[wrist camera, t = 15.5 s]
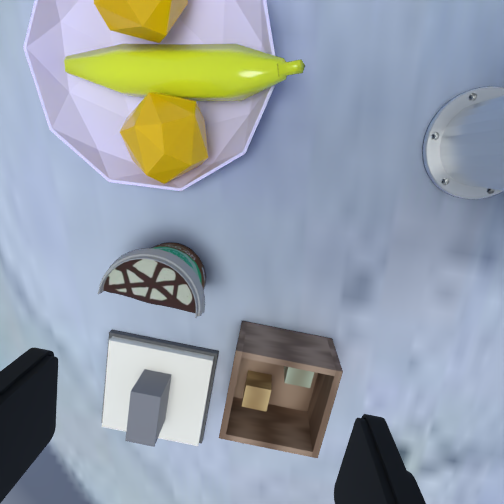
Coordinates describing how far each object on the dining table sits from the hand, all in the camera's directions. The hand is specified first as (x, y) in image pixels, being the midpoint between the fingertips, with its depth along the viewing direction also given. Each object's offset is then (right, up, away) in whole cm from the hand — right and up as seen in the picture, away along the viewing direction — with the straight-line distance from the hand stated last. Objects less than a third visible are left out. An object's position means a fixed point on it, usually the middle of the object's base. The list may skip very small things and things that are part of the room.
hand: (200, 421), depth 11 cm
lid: (-13, -16, +42) cm, 46 cm away
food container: (-9, +5, +37) cm, 38 cm away
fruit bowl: (-8, +26, +32) cm, 42 cm away
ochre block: (+2, -14, +41) cm, 43 cm away
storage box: (+5, -12, +40) cm, 43 cm away
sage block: (+8, -10, +39) cm, 41 cm away
